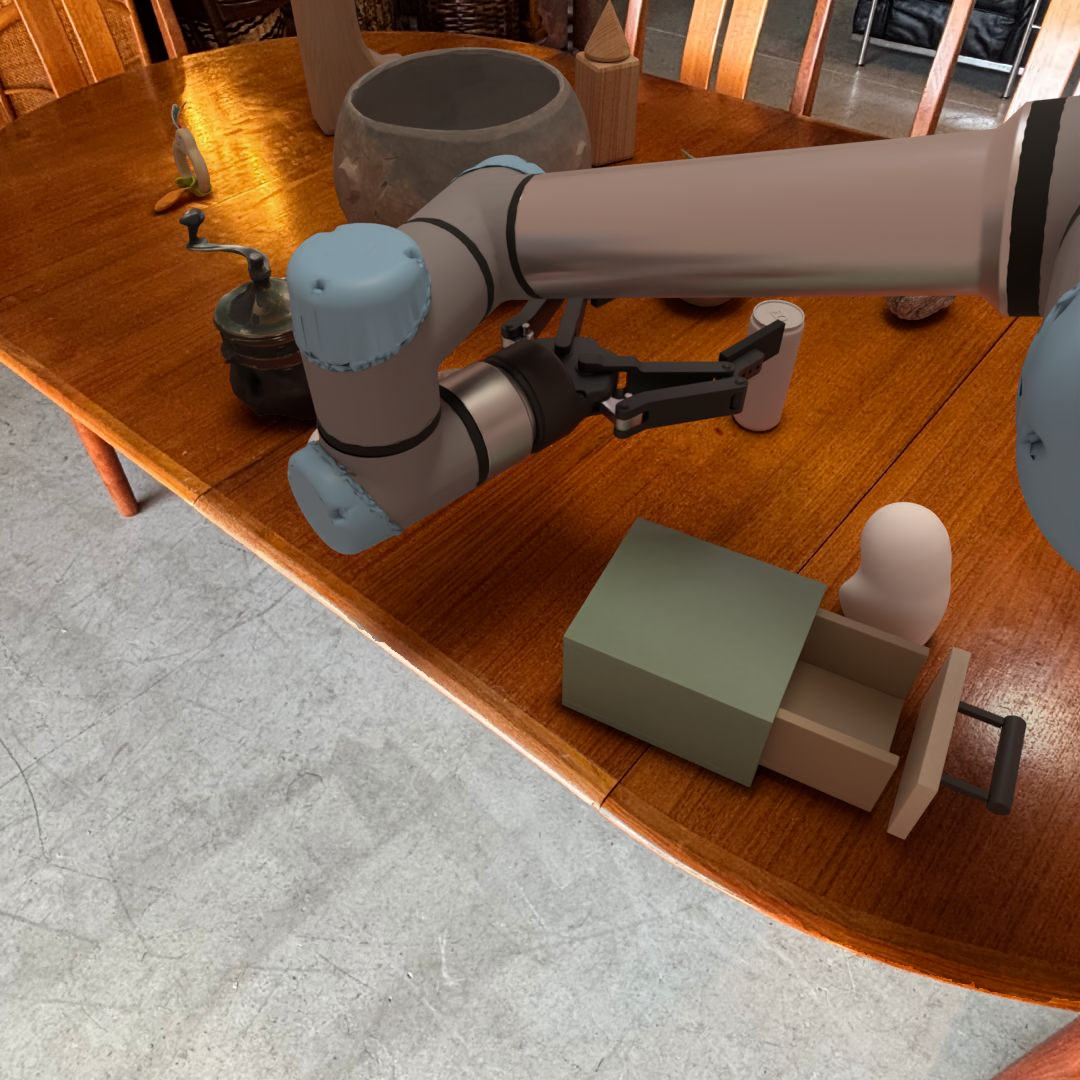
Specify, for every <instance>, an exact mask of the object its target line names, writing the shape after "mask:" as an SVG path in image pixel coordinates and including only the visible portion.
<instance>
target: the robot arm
mask: <svg viewBox="0 0 1080 1080" xmlns="http://www.w3.org/2000/svg"><path fill="white" fill-rule="evenodd" d="M285 277H286V281H287V286H288V292H289V299H290V303H289V305H290V310H291V315H292V321H293V323H292V331H293V334H294V339H295V342H296V344H297V346H298V348H299V350H300V353H301V357H302V361H303V365H304V369H305V373H306V376H307V380H308V384H309V388H310V392H311V396H312V400H313V404H314V408H315V412H316V416H317V419H316V429H318V434H319V440H317V441H314V440H313V441H311V442H308V441H307V443H308V444H307V443H306V446H304V447H303V448H301V449H299V450H297V451H295V452H294V453H293V454H292V455H291V456H290V457H289V459H288V464H287V472H286V474H287V475H286V476H287V479H288V483H289V487H290V490H291V492H292V494H293V497H294V499H295V502H296V504H297V506H298V508H299V509H300V511H301V513H302V514H303V516H304V518H305V519H306V521H307V522H308V525H310V527H311V528H312V530H313V532H315V534H316V535H317V536H318V537H319V539H320V540H322V541H323V542H324V543H325V545H326V546H328V547H329V548H330V549H332V550H333V551H335V552H337V553H339V554H342V555H349V556H350V555H357V554H359V553H361V552H363V551H365V550H368V549H369V548H372V547H373V546H376V545H378V544H380V543H382V542H384V541H386V540H388V539H390V538H393V537H395V536H401V534H403V533H404V532H403V531H405V530H407V529H408V528H410V527H412V526H414V525H415V524H417V523H418V522H420V521H422V520H423V519H425V518H427V517H428V516H430V515H432V514H433V513H435V512H437V511H439V510H440V509H442V508H444V507H445V506H447V505H449V504H451V503H452V502H454V501H456V500H457V499H460V498H461V497H463V496H464V495H467V494H468V493H469V492H471V491H473V490H474V489H476V488H478V487H479V486H481V485H482V484H485V483H487V482H488V481H490V480H492V479H494V478H495V477H497V476H500V475H501V474H502V473H504V472H506V471H507V470H509V469H511V468H513V467H515V466H516V465H518V464H520V463H521V462H524V461H525V460H526V459H527V458H528V457H529V456H530V455H534V454H538V453H539V452H541V451H543V450H544V449H547V448H549V447H550V446H552V445H554V444H555V443H558V442H559V441H560V440H562V439H564V438H566V437H567V436H569V435H570V434H571V433H572V432H573V431H574V430H575V429H576V428H577V427H578V426H579V424H581V422H582V421H584V419H586V418H590V417H594V416H602V415H603V416H604V417H605V418H606V419H607V420H608V421H610V422H611V424H613V431H612V432H613V436H614V437H615V438H616V439H620V440H625V439H629V438H631V437H633V436H635V435H637V434H639V433H641V432H643V431H646V430H651V429H656V428H662V427H668V426H675V425H681V424H686V423H693V422H699V421H704V420H710V419H715V418H717V419H718V418H723V417H729V416H733V415H735V414H739V413H741V412H742V411H743V407H744V402H745V397H746V393H747V388H748V380H749V379H750V378H752V377H753V376H756V375H757V374H759V372H760V371H761V368H762V364H763V363H764V362H765V361H767V360H769V359H770V358H772V357H773V356H775V355H777V354H778V353H779V350H780V346H781V342H782V337H783V333H784V329H785V325H786V323H784V322H782V321H780V320H779V319H777V320H776V321H774V322H772V323H770V324H769V325H767V326H765V327H763V328H762V329H760V330H758V331H756V332H755V333H753V334H751V335H750V336H748V337H747V336H746V337H744V338H742V339H741V340H739V341H738V342H735V343H734V344H733V345H730V346H728V347H727V348H725V349H723V350H722V351H721V352H719V353H718V359H717V360H716V361H707V360H706V361H642V360H641V361H640V360H639V359H638V357H637V356H634V355H618V354H616V353H615V352H614V351H612V350H610V349H607V348H606V347H603V346H601V345H600V344H599V343H598V342H597V340H595V339H594V338H592V337H591V336H587V337H584V336H581V332H582V327H583V324H584V319H585V314H586V310H587V306H588V300H590V305H591V306H592V307H593V308H595V309H598V308H600V307H602V306H605V305H606V304H608V303H611V302H613V301H614V300H616V299H678V298H679V299H680V298H707V297H733V298H814V297H815V298H821V297H823V298H826V297H827V298H828V297H829V298H831V297H832V298H833V297H842V298H843V297H886V296H956V297H958V296H959V297H961V296H965V297H968V296H969V297H970V296H971V297H972V296H973V297H974V296H975V297H979V298H981V299H984V300H985V301H986V302H987V303H988V304H989V305H990V306H991V307H992V308H993V309H994V310H995V311H996V312H997V313H998V314H999V315H1000V316H1001V317H1003V318H1012V317H1013V318H1018V317H1019V318H1020V317H1021V318H1023V317H1024V318H1025V317H1027V318H1029V317H1030V318H1031V317H1032V318H1034V317H1036V318H1042V320H1041V325H1040V327H1039V328H1038V330H1037V331H1036V333H1035V335H1034V337H1033V339H1032V341H1031V343H1030V345H1029V348H1028V349H1027V353H1026V355H1025V357H1024V361H1023V364H1022V367H1021V371H1020V375H1019V380H1018V385H1017V391H1016V397H1015V411H1016V413H1015V429H1016V437H1015V465H1016V473H1017V479H1018V484H1019V486H1020V490H1021V491H1020V492H1021V494H1022V497H1023V499H1024V502H1025V504H1026V507H1027V509H1028V511H1029V513H1030V516H1031V517H1032V519H1033V521H1034V523H1035V525H1036V526H1037V528H1038V529H1039V531H1040V533H1041V534H1042V536H1043V537H1044V538H1045V539H1046V541H1047V542H1048V543H1049V545H1050V546H1051V547H1052V548H1053V550H1054V551H1055V552H1056V553H1057V554H1058V555H1059V556H1060V557H1061V558H1062V559H1063V561H1065V563H1067V564H1068V565H1069V566H1070V567H1071V568H1073V569H1074V570H1075V571H1076V572H1078V573H1079V574H1080V95H1070V96H1065V97H1054V98H1046V99H1045V98H1044V99H1037V100H1035V99H1034V100H1030V101H1025V103H1024V104H1022V105H1021V106H1020V107H1019V108H1018V109H1016V111H1015V112H1014V113H1013V114H1012V115H1011V116H1010V117H1009V118H1008V119H1007V120H1006V121H1004V122H1003V123H1002V124H1000V125H999V126H997V127H995V128H987V129H979V130H978V129H977V130H968V131H960V132H950V133H949V132H947V133H938V134H928V135H918V136H907V137H897V138H888V139H877V140H868V141H867V140H866V141H857V142H847V143H846V142H845V143H838V144H837V143H836V144H827V145H826V144H825V145H818V146H808V147H797V148H786V149H778V150H777V149H776V150H775V149H774V150H767V151H766V150H765V151H756V152H747V153H737V154H725V155H714V156H708V157H707V156H706V157H694V159H690V158H685V159H676V160H665V161H664V160H663V161H656V162H646V163H635V164H634V163H633V164H626V165H625V164H624V165H615V166H606V167H605V166H604V167H595V168H591V169H583V170H573V171H563V172H553V173H545V172H544V171H543V170H542V169H541V168H540V167H538V166H537V165H535V164H533V163H529V162H527V161H526V160H524V159H521V158H519V157H518V156H514V155H499V156H494V157H491V158H488V159H486V160H484V161H483V162H481V163H479V164H478V165H476V166H475V167H473V168H470V169H467V170H465V171H464V172H463V173H461V174H460V175H459V176H458V177H456V178H454V179H453V180H452V181H451V182H450V183H449V185H448V186H447V187H446V188H445V189H444V190H443V191H442V192H441V193H439V194H438V195H437V196H436V197H435V198H434V199H432V200H431V201H430V202H429V203H428V204H426V205H425V206H424V207H423V208H422V209H421V210H419V211H418V212H417V213H416V214H415V215H413V216H412V217H411V218H410V219H409V220H408V221H406V222H405V223H404V224H402V225H401V226H399V227H398V228H397V229H395V228H393V227H390V226H386V225H381V224H374V223H353V224H349V223H346V224H341V225H337V226H336V227H335V229H333V230H332V231H328V232H327V231H326V232H322V231H321V232H316V233H315V234H313V235H311V236H309V237H308V238H307V239H305V240H304V241H303V242H301V243H300V244H299V245H298V246H297V247H296V248H295V250H294V252H293V253H292V254H291V255H290V258H289V260H288V264H287V267H286V273H285ZM507 301H527V302H526V303H525V305H524V306H523V307H522V308H521V310H519V312H518V313H517V314H516V315H514V316H512V317H510V318H509V319H507V320H506V321H504V322H502V323H500V343H501V346H500V347H501V349H499V350H498V351H496V352H493V353H491V354H490V355H487V356H486V357H484V358H483V360H482V361H474V362H472V363H470V364H468V365H465V367H462V369H460V370H458V371H457V372H455V373H453V374H451V375H449V376H447V377H445V378H443V379H441V380H439V381H438V372H439V369H440V367H441V364H442V363H443V362H444V361H445V360H446V359H447V358H448V357H449V356H450V354H452V353H453V352H454V351H455V350H456V349H457V348H458V347H459V345H461V344H462V342H464V340H466V338H468V336H469V335H470V334H471V333H472V332H473V331H474V330H475V329H476V328H477V327H478V326H479V325H481V323H483V322H484V320H486V318H487V317H489V315H491V313H493V312H494V311H495V309H497V307H499V306H500V305H501V304H502V303H504V302H507ZM565 301H566V303H565V307H564V310H563V315H562V317H561V318H560V321H559V323H558V328H557V333H556V334H555V336H554V337H539V336H540V335H541V333H542V332H543V331H544V330H545V328H546V327H547V325H548V324H549V322H550V321H551V320H552V319H553V317H554V316H555V314H556V313H557V312H558V310H559V309H560V308H561V307H562V305H563V303H564V302H565ZM621 373H626V376H625V377H626V378H625V385H624V387H621V388H618V386H619V382H620V374H621Z"/></svg>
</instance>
